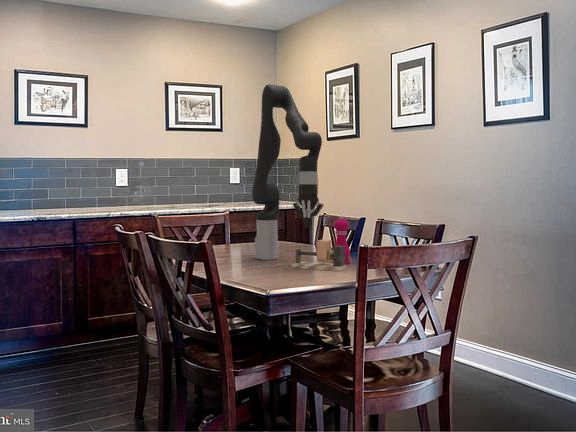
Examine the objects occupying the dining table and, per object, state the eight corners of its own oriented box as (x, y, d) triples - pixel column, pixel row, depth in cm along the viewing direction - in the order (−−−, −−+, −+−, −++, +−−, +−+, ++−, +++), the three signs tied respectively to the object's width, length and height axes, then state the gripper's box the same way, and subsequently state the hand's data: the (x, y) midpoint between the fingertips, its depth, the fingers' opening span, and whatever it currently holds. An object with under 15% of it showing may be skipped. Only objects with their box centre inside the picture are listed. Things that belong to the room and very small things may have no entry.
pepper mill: (349, 264, 230) (349, 215, 229) (331, 264, 232) (331, 215, 230) (351, 262, 237) (350, 214, 236) (333, 261, 239) (333, 214, 237)
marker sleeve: (317, 260, 220) (316, 240, 220) (322, 259, 224) (322, 239, 224) (326, 261, 218) (326, 241, 218) (331, 259, 222) (331, 240, 222)
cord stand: (292, 267, 224) (292, 245, 223) (300, 265, 230) (300, 243, 230) (339, 271, 215) (339, 247, 214) (346, 268, 221) (346, 245, 220)
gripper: (288, 183, 222) (288, 227, 223) (319, 183, 216) (319, 228, 217) (297, 182, 229) (297, 225, 230) (327, 183, 222) (327, 227, 224)
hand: (308, 227), depth 224 cm, fingers closed
